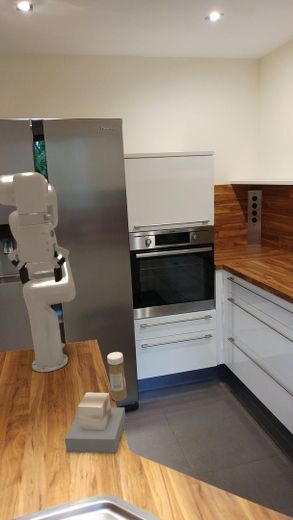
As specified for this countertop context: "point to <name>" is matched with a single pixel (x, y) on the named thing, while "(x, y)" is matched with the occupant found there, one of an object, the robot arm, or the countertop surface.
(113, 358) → the sprinkles bottle
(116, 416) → the slate block
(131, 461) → the countertop surface
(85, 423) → the cream cube
